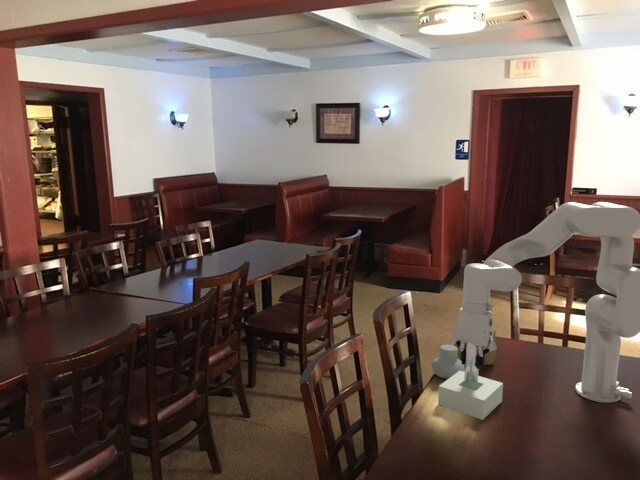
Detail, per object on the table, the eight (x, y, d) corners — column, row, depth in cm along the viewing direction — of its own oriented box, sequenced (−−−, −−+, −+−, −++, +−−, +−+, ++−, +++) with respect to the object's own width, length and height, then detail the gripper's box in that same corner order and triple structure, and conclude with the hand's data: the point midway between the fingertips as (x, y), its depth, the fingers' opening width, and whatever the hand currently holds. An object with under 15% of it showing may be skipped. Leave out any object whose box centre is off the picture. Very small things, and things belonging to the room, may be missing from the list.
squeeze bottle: (497, 367, 187) (500, 318, 184) (472, 366, 189) (475, 316, 185) (494, 358, 195) (497, 310, 191) (471, 356, 196) (474, 309, 193)
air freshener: (467, 380, 178) (469, 351, 176) (445, 384, 175) (447, 355, 173) (449, 367, 188) (450, 340, 186) (428, 370, 185) (429, 343, 183)
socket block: (501, 401, 164) (503, 383, 162) (482, 420, 153) (483, 400, 152) (458, 387, 172) (459, 370, 171) (438, 404, 162) (438, 385, 161)
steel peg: (480, 379, 161) (483, 335, 159) (474, 384, 158) (477, 338, 156) (467, 375, 164) (470, 331, 161) (461, 380, 161) (464, 335, 158)
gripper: (508, 309, 154) (504, 368, 158) (454, 297, 165) (451, 354, 168) (498, 315, 149) (494, 377, 152) (443, 303, 159) (440, 361, 163)
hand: (472, 364), depth 160 cm, fingers closed on steel peg, 4 cm apart
